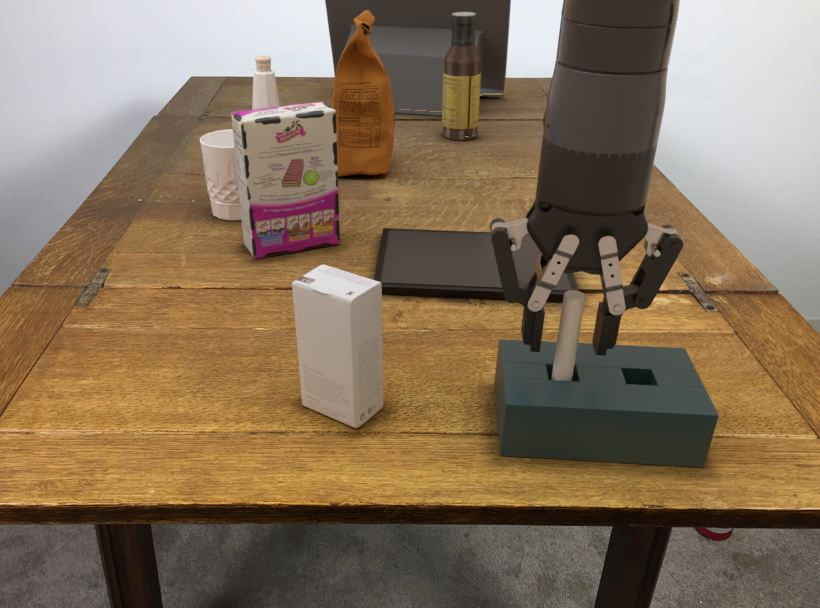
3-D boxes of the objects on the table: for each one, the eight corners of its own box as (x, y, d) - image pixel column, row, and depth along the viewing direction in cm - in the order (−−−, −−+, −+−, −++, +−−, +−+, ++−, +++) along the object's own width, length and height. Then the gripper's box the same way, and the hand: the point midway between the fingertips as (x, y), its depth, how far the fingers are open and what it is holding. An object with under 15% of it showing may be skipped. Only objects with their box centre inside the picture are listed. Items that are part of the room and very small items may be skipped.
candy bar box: (326, 230, 100) (322, 99, 92) (341, 245, 96) (339, 109, 88) (240, 244, 96) (229, 109, 88) (252, 260, 92) (241, 120, 84)
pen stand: (493, 387, 70) (498, 338, 67) (673, 396, 69) (685, 347, 66) (500, 456, 62) (505, 404, 59) (704, 467, 60) (719, 415, 58)
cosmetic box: (385, 406, 67) (388, 279, 61) (354, 433, 64) (354, 302, 58) (328, 383, 70) (325, 260, 64) (296, 407, 67) (289, 280, 61)
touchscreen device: (504, 94, 161) (519, -70, 145) (495, 123, 145) (510, -58, 129) (339, 84, 168) (336, -74, 151) (313, 110, 151) (306, -63, 135)
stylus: (563, 417, 66) (584, 290, 60) (565, 428, 65) (587, 300, 58) (544, 416, 66) (562, 289, 60) (546, 427, 65) (565, 299, 59)
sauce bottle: (468, 129, 139) (476, 9, 129) (483, 139, 134) (493, 15, 124) (434, 132, 137) (440, 10, 127) (448, 143, 132) (455, 16, 122)
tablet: (383, 235, 99) (383, 227, 98) (560, 242, 97) (561, 234, 96) (372, 294, 85) (372, 285, 84) (578, 303, 83) (580, 294, 83)
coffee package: (397, 155, 126) (401, 9, 115) (391, 182, 115) (394, 22, 104) (336, 153, 127) (334, 7, 116) (324, 179, 116) (320, 21, 105)
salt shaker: (253, 124, 141) (249, 60, 136) (250, 116, 146) (245, 54, 140) (283, 122, 142) (280, 59, 137) (279, 114, 147) (276, 53, 141)
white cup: (196, 210, 105) (187, 137, 100) (244, 196, 110) (238, 125, 105) (229, 228, 100) (222, 151, 95) (278, 212, 105) (274, 138, 100)
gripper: (496, 146, 50) (476, 370, 59) (726, 153, 49) (670, 380, 58) (490, 114, 57) (473, 321, 65) (693, 120, 56) (648, 329, 64)
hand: (566, 347), depth 62 cm, fingers open, 4 cm apart
